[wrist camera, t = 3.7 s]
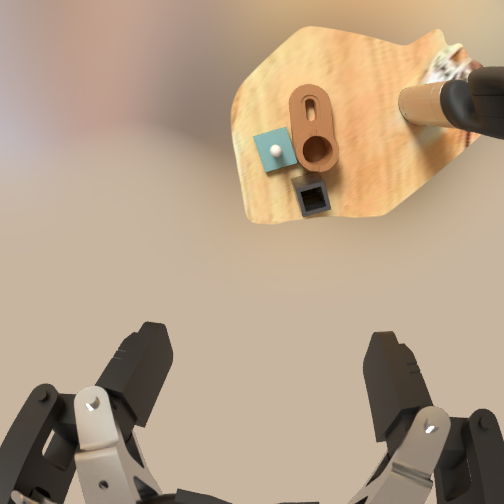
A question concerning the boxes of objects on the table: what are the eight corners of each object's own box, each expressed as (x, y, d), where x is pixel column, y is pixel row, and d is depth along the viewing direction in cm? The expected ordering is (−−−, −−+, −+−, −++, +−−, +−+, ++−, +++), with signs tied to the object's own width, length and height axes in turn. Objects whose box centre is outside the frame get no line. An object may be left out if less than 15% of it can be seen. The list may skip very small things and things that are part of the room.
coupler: (315, 172, 56) (324, 181, 47) (321, 196, 58) (331, 209, 49) (290, 178, 57) (294, 189, 48) (297, 202, 59) (302, 217, 50)
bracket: (332, 166, 55) (339, 171, 49) (294, 167, 56) (297, 173, 50) (325, 86, 47) (333, 81, 41) (286, 86, 48) (289, 81, 42)
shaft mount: (285, 127, 52) (287, 126, 46) (296, 162, 55) (300, 166, 49) (253, 136, 53) (251, 137, 47) (265, 171, 56) (264, 176, 51)
